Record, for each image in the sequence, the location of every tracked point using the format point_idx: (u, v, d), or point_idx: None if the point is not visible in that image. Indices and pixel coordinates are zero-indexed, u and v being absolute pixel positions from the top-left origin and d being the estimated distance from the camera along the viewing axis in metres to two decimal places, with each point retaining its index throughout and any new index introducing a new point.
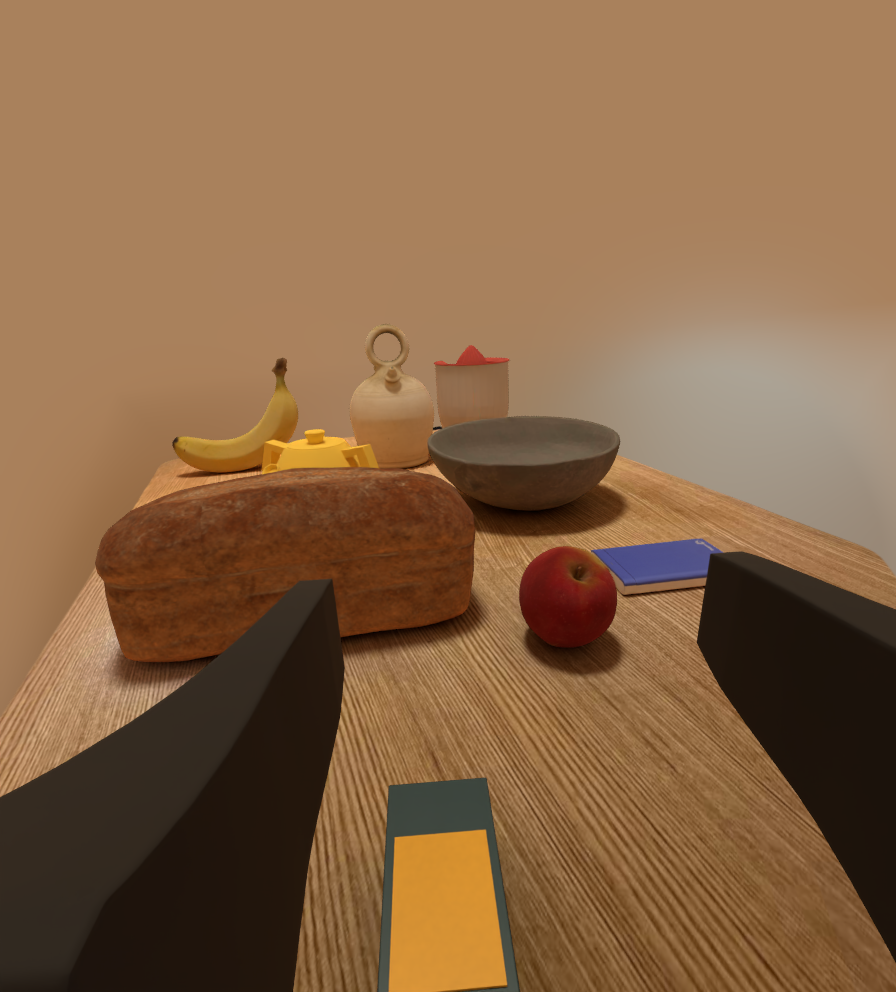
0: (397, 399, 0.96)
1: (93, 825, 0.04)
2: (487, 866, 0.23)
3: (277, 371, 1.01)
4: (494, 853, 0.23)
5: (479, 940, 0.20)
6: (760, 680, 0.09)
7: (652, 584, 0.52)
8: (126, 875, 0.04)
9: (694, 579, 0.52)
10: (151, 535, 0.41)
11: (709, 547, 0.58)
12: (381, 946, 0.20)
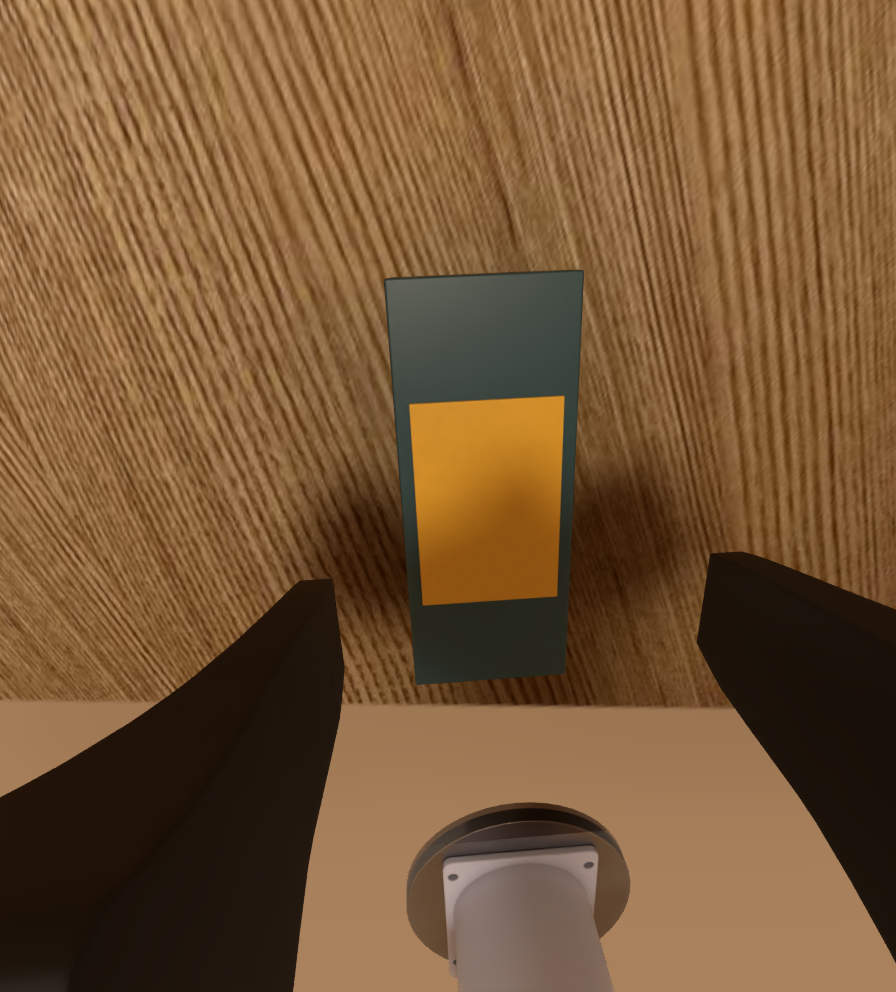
0: None
1: (92, 825, 0.04)
2: (556, 459, 0.15)
3: None
4: (571, 435, 0.15)
5: (531, 550, 0.16)
6: (760, 680, 0.09)
7: None
8: (126, 876, 0.04)
9: None
10: None
11: None
12: (407, 555, 0.16)
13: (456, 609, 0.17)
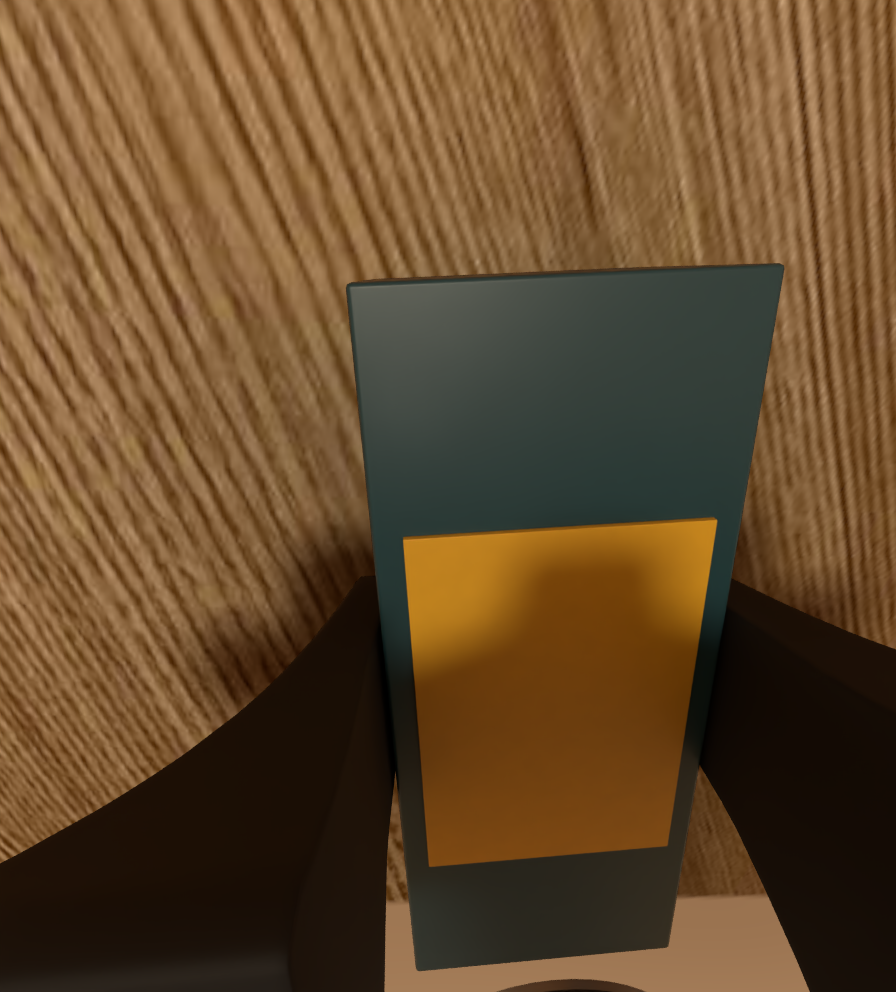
0: None
1: (243, 812, 0.04)
2: (690, 633, 0.08)
3: None
4: (720, 589, 0.08)
5: (627, 776, 0.09)
6: None
7: None
8: (303, 860, 0.04)
9: None
10: None
11: None
12: (401, 790, 0.09)
13: (487, 867, 0.09)
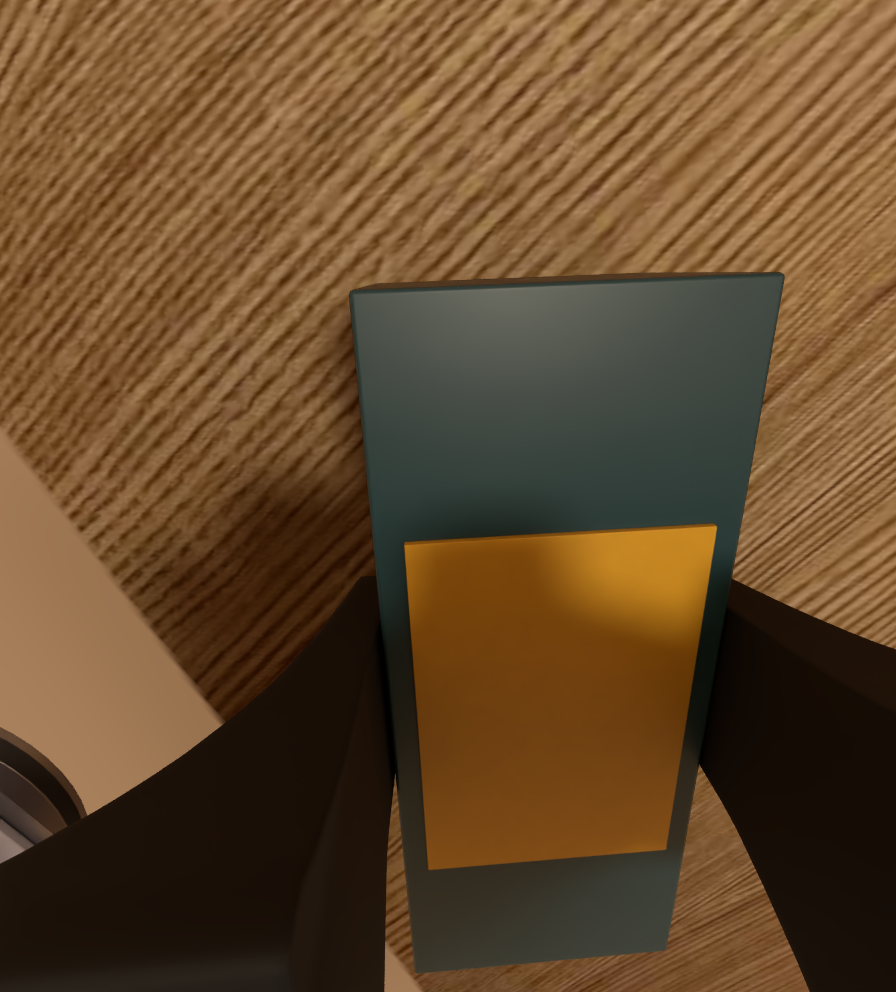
0: None
1: (244, 813, 0.04)
2: (688, 638, 0.08)
3: None
4: (719, 595, 0.08)
5: (625, 780, 0.09)
6: None
7: None
8: (303, 860, 0.04)
9: None
10: None
11: None
12: (401, 794, 0.09)
13: (486, 870, 0.09)
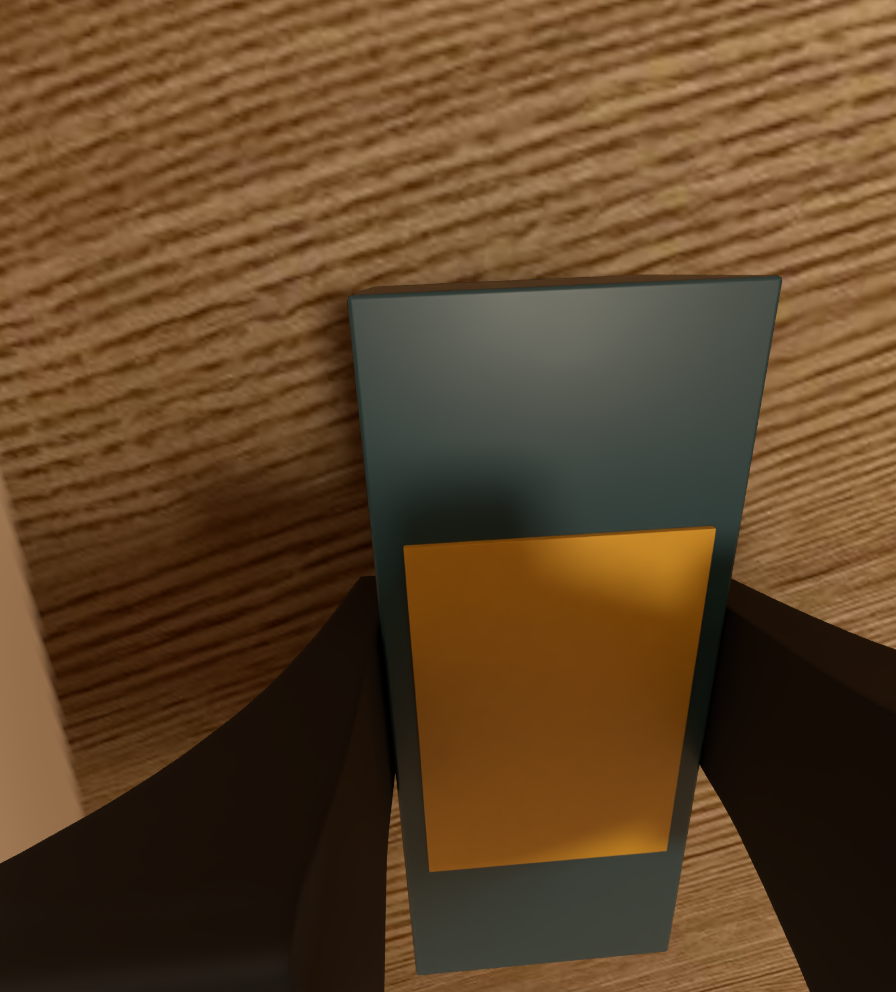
0: None
1: (243, 813, 0.04)
2: (688, 641, 0.08)
3: None
4: (718, 597, 0.08)
5: (626, 782, 0.09)
6: None
7: None
8: (303, 861, 0.04)
9: None
10: None
11: None
12: (402, 796, 0.09)
13: (487, 872, 0.09)
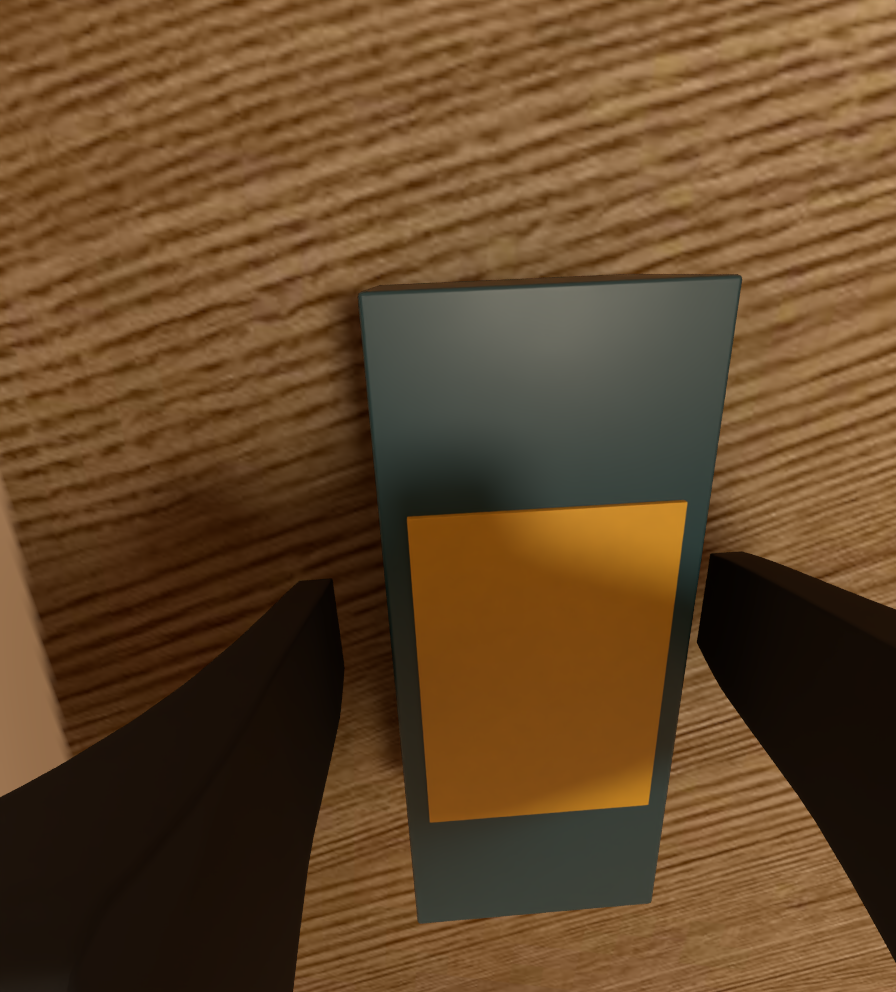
0: None
1: (92, 827, 0.04)
2: (664, 605, 0.09)
3: None
4: (692, 565, 0.08)
5: (610, 740, 0.10)
6: (760, 680, 0.09)
7: None
8: (125, 876, 0.04)
9: None
10: None
11: None
12: (404, 750, 0.09)
13: (483, 824, 0.10)
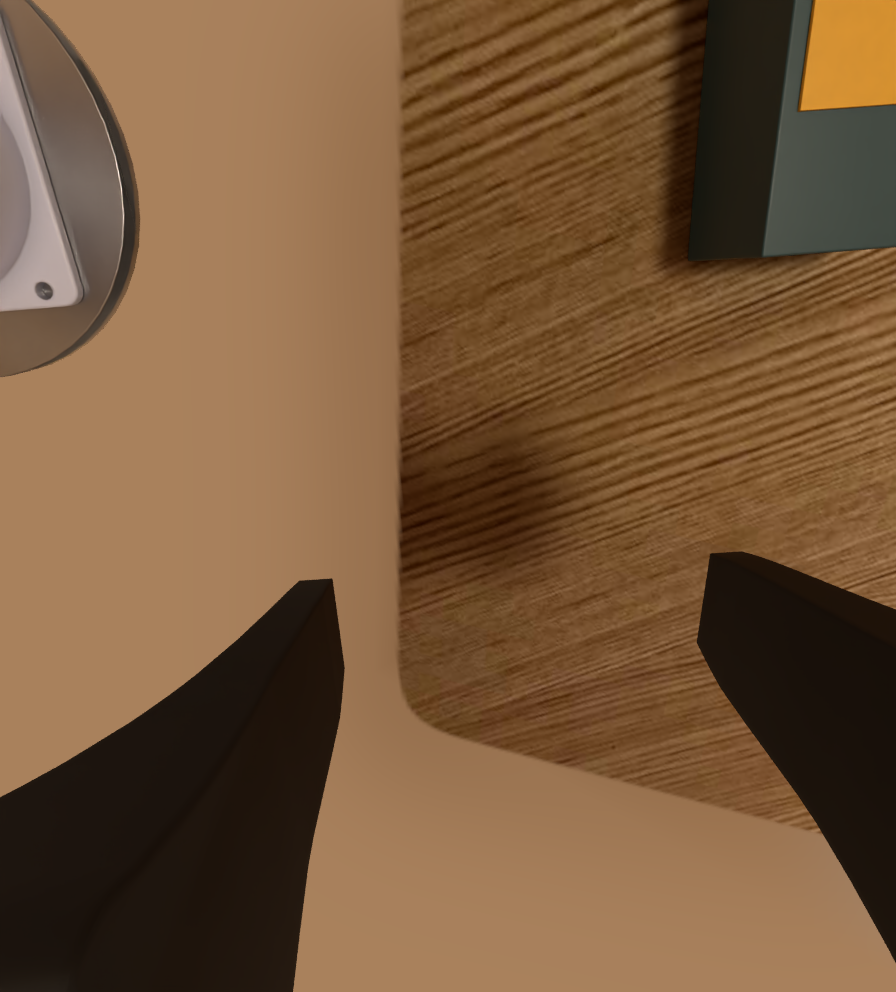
0: None
1: (93, 825, 0.04)
2: None
3: None
4: None
5: None
6: (760, 680, 0.09)
7: None
8: (126, 876, 0.04)
9: None
10: None
11: None
12: (794, 21, 0.12)
13: (838, 122, 0.13)
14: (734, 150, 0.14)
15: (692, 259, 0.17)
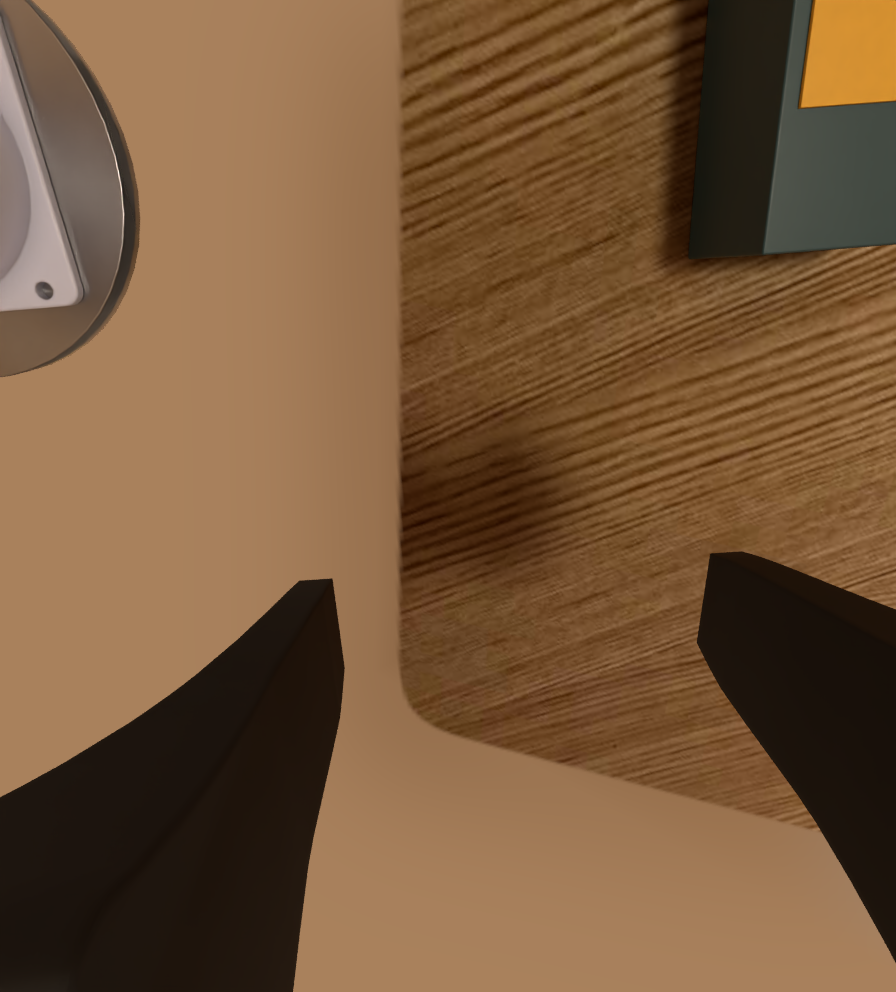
0: None
1: (91, 825, 0.04)
2: None
3: None
4: None
5: None
6: (760, 680, 0.09)
7: None
8: (125, 875, 0.04)
9: None
10: None
11: None
12: (795, 18, 0.12)
13: (838, 120, 0.13)
14: (734, 148, 0.14)
15: (692, 257, 0.17)
